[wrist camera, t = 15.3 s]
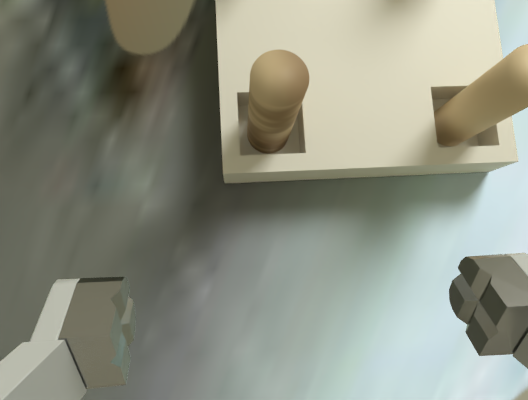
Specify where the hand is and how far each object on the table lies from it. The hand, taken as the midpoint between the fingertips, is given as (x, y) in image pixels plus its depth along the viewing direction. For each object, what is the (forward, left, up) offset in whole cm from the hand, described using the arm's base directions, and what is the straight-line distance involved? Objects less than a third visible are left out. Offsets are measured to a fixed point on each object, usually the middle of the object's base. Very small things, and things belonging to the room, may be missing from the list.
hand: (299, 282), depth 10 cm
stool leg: (+2, +11, -24) cm, 27 cm away
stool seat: (+10, +19, -26) cm, 34 cm away
